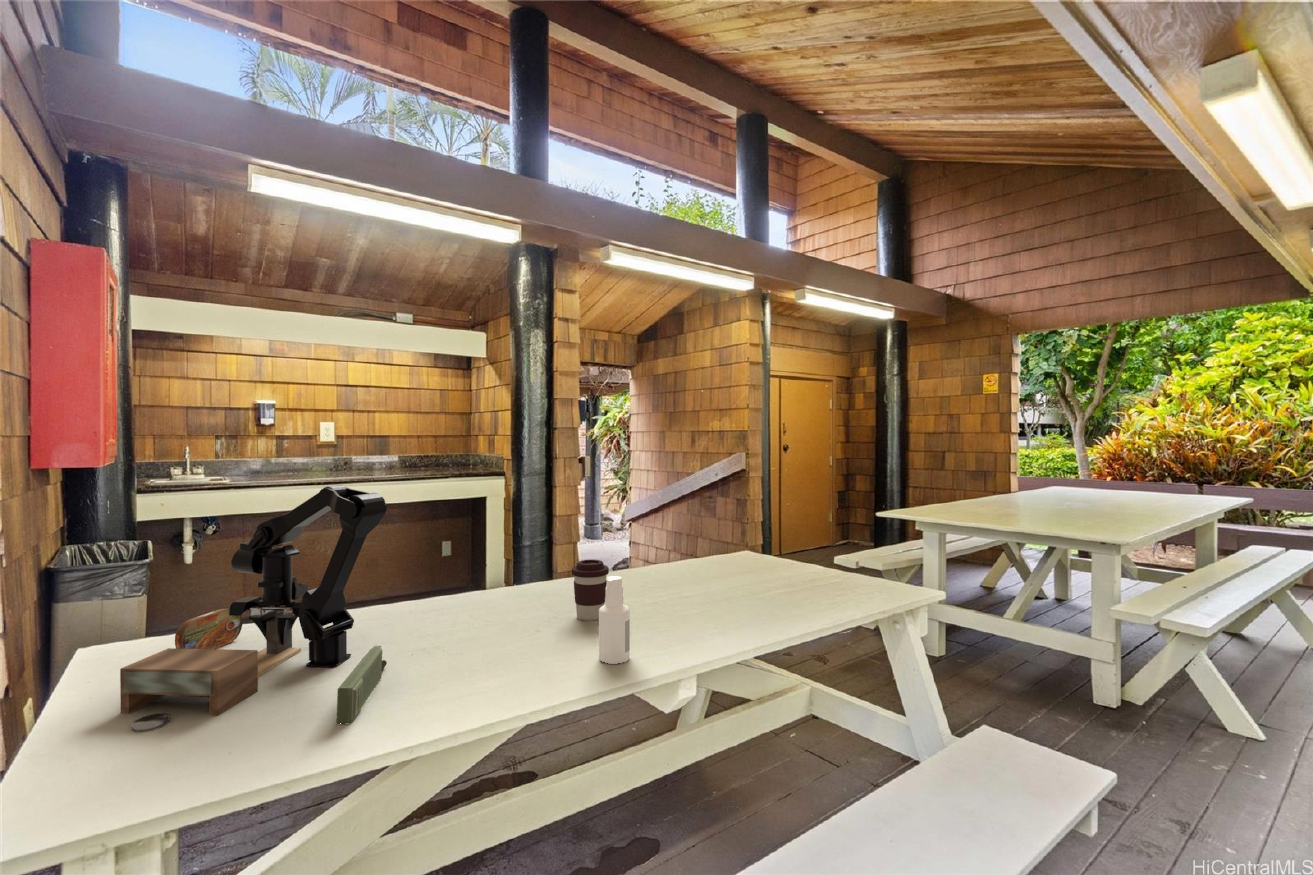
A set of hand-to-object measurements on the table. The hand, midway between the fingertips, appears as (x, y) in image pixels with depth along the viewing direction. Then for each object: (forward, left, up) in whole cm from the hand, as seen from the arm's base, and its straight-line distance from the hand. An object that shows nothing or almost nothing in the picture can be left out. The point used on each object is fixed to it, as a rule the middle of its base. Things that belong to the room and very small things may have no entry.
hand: (277, 644), depth 135 cm
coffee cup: (-66, -30, -2) cm, 73 cm away
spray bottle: (-76, -1, -2) cm, 76 cm away
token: (0, +32, -3) cm, 32 cm away
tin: (+18, -2, -3) cm, 18 cm away
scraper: (0, +8, -2) cm, 8 cm away
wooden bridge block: (0, +24, -2) cm, 24 cm away
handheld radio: (-30, +18, -3) cm, 35 cm away
